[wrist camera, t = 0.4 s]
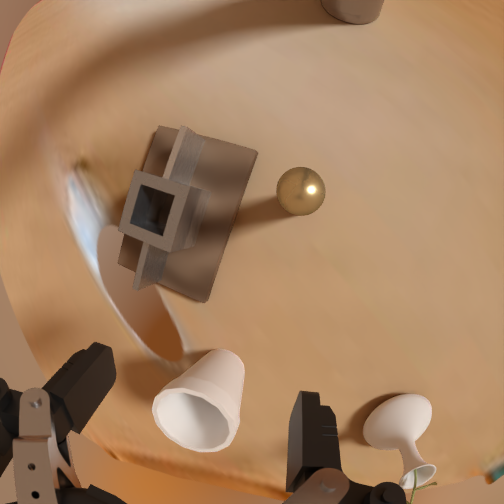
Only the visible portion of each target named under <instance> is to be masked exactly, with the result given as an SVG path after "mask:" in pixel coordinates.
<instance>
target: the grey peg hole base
mask: <svg viewBox="0 0 504 504" xmlns="http://www.w3.org/2000/svg"><path fill="white" fill-rule="evenodd" d="M178 132H179V130H177V129H173V128H168V127H164V126H158V129H157V131H156V134H155V137H154V139H153V142H152V145H151V148H150V150H149V153H148V156H147V159H146V162H145V165H144V168H143V172H147V173H151V174H154V175H158V176H162V177H163V175H164V172H165V169H166V166H167V163H168V160H169V157H170V154H171V151H172V149H173V146H174V143H175V140H176V138H177V135H178ZM199 136H200V137H202V138H203V139H204V140H205V143H204V146H203V148H202V151H201V154H200V157H199V159H198V162H197V165H196V168H195V171H194V174H193V176H192V179H191V182H190V185H191V186H194V187H197V188H200V189H203V190H206V191H209V192H212V193H211V196H210V199H209V202H208V205H207V208H206V211H205V214H204V217H203V220H202V223H201V226H200V229H199V233H198V236H197V239H196V242H195V245H194V246H193V247H189V248H186V249H182V250H178V251H175V252H171V253H168V257H167V260H166V264H165V268H164V271H163V275H162V279H161V281H159V282H157V283H159V284H162V285H164V286H166V287H168V288H170V289H173V290H175V291H177V292H179V293H182V294H184V295H186V296H188V297H191V298H193V299H195V300H198V301H200V302H202V303H205V302H207V301H208V299H209V296H210V293H211V289H212V286H213V283H214V280H215V277H216V274H217V271H218V268H219V265H220V262H221V259H222V256H223V253H224V250H225V247H226V244H227V241H228V238H229V235H230V232H231V229H232V226H233V223H234V220H235V218H236V215H237V212H238V209H239V206H240V203H241V200H242V197H243V194H244V192H245V189H246V186H247V183H248V180H249V177H250V175H251V172H252V169H253V166H254V163H255V161H256V158H257V155H258V152H257V151H256V150H253V149H250V148H246V147H243V146H239V145H236V144H232V143H229V142H225V141H221V140H218V139H214V138H210V137H206V136H202V135H199ZM174 198H175V195H172V194H169V193H168V194H167V197H166V200H165V203H164V206H163V210H162V213H161V216H160V220H159V222H161V223H164V224H167V220H168V217H169V214H170V210H171V207H172V204H173V201H174ZM142 246H143V241H141V240H138V239H136V238H134V237H131V236H129V235H127V234H124V238H123V243H122V246H121V251H120V256H119V260H118V264H120V265H122V266H124V267H126V268H128V269H130V270H132V271H134V272H136V270H137V266H138V262H139V258H140V254H141V250H142Z"/></svg>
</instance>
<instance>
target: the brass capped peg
mask: <svg viewBox="0 0 504 504" xmlns="http://www.w3.org/2000/svg"><path fill="white" fill-rule="evenodd" d="M277 198H278V201H279V203H280V204H281V206H282V207H283V208H284V209H285V210H286V211H288V212H289V213H291V214H294V215H298V216H304V215H309V214H311V213H313V212H315V211H316V210H317V209H318V208H319V207H320V206H321V205H322V203H323V201H324V198H325V185H324V182H323V180H322V179H321V177H320V176H319V175H318V174H317V173H316V172H315V171H313V170H311V169H309V168H305V167H296V168H292V169H290V170H288V171H287V172H285V173H284V174H283V175H282V176H281V178H280V179H279V181H278V184H277Z"/></svg>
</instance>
